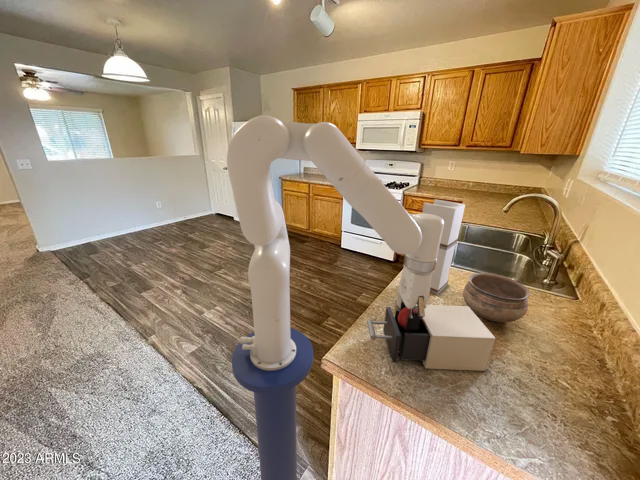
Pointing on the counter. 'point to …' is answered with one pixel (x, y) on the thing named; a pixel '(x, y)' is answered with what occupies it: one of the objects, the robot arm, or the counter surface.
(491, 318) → the cooking pot
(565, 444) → the counter surface
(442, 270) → the tall white column
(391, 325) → the dark pull-out drawer
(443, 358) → the cream rectangular box
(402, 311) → the onion
